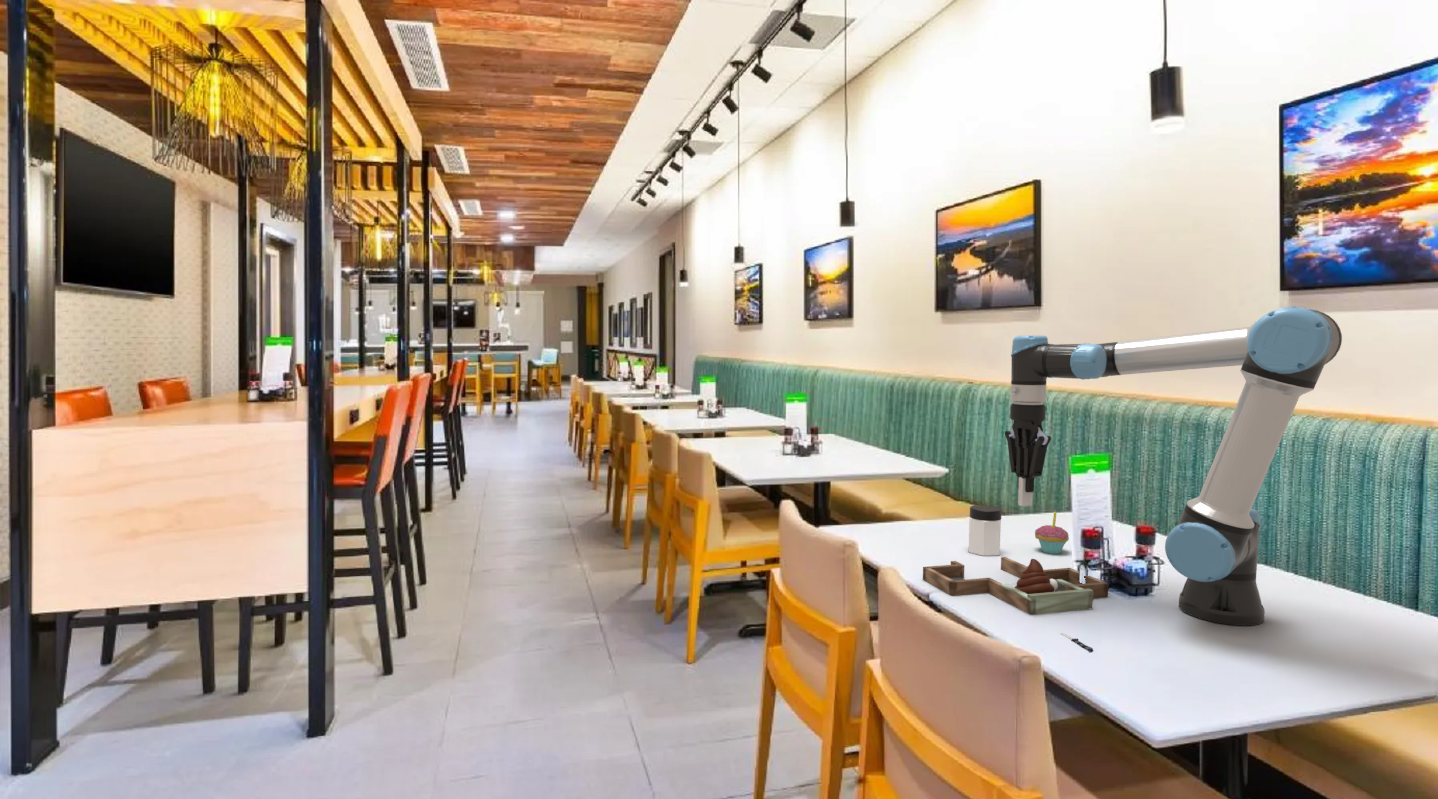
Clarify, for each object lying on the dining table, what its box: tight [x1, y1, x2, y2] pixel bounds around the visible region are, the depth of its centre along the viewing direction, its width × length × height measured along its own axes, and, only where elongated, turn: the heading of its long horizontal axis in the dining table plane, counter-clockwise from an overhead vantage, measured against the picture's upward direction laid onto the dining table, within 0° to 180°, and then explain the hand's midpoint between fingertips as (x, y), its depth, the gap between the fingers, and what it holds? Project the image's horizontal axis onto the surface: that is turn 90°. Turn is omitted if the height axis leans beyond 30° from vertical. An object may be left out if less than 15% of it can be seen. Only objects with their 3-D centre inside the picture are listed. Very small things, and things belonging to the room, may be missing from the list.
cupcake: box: [1034, 509, 1070, 555], centre depth 211 cm, size 9×8×12 cm
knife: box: [1059, 632, 1094, 653], centre depth 152 cm, size 19×2×1 cm, turn 17°
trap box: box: [922, 556, 1110, 616], centre depth 178 cm, size 30×34×4 cm
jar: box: [968, 504, 1003, 557], centre depth 210 cm, size 9×8×12 cm
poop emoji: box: [1013, 558, 1058, 594], centre depth 170 cm, size 10×8×9 cm
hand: (1025, 505), depth 179 cm, fingers closed
